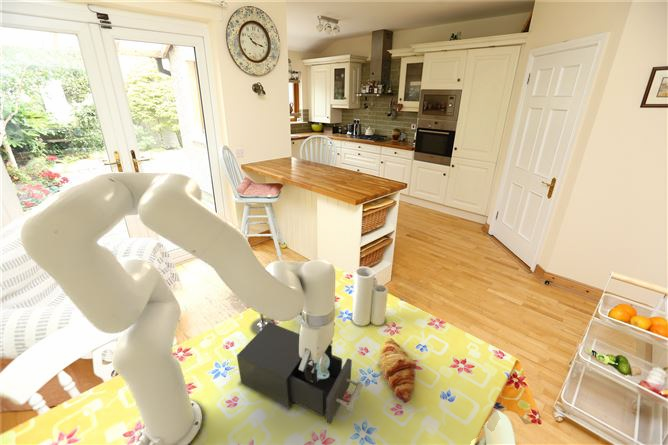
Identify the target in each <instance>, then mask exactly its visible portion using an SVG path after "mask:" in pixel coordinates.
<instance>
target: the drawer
mask: <svg viewBox="0 0 668 445" xmlns="http://www.w3.org/2000/svg"><path fill="white" fill-rule="evenodd" d="M329 360H330V364H329V367H328V369H327V370H328V371H329V377H328V378H326V379H319V380H318V381H317V382H316V383H315V382H311V381H309V380H307V379H306V378H305V372H302V371H300V370H299V366H300V363H301V362H300V363H299V364H298V366H297V367H296V369H295V370H294V372H293V373H292V374H291V376H290V377H289V379H288V381H289V395H290V400H291V401H293V402H292V403H296V404H298V405H299V406H301V407H302V408H305V409H307V410H309V411H311V412H313V413H315V414H317V415H319V416H321V417H324V415H326V416H325V417H326V418H325V422H326V424H329V425H332V423H333V421H334V419H335V417H336V415H337V412H338V410H339V408H340V406H341V405H342V406H345V407H346V408H347V410H349V411H353V410H354V408H355V405H356V402H357V401H358V398H359V396H360V393H361V391H362V389H363V386H364V384H363V382H361V381H355V380H353V379H352V364H353V360H352V358H349V357H348V358H346V360H345V362H344V364H343V358H341V357H339V356H336V355H334V354H332V356H331V358H329ZM301 361H302V360H301ZM309 362H310V360H309ZM309 362H308V364H309ZM325 363H326V362H325ZM325 376H326V375H324V377H325ZM350 385H354V386H355V387H354V389H353V391H352V394H351V396H350V398H349V400H348V402H347V401H344V400H343V399H344V397H345V395H346V394H347V392H348V389H349V387H350Z"/></svg>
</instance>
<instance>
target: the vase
mask: <svg viewBox="0 0 668 445" xmlns="http://www.w3.org/2000/svg"><path fill="white" fill-rule="evenodd" d="M353 279H354V280H353V299H352V301H353V302H352V318H351V319H352V321H353V323H354V324H355V325H357V326H361V327H364V326H367V325H369V324H370V323H371V324H373V325H375V326H381V325H384V324H385V322H386V321H385V320H386V311H387V302H388V294H389V287H387V285H384V284H378V279H379V278H378V277H377V276H375V270H374V269H373V268H371V267H369V266H366V265H365V266H363V265H362V266H359V267H356V268H355V269H354V278H353Z"/></svg>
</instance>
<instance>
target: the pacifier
mask: <svg viewBox="0 0 668 445" xmlns="http://www.w3.org/2000/svg"><path fill="white" fill-rule="evenodd" d="M325 362H326V363H325ZM329 364H330V360H329V357H328V356H327V355H326V354H325V353H324V354H323V355H322V357H321V358H320V360H319V361H318V362H317V365H316V369H317V381H318V380H319V379H326V378H328V377H329V371H328V370H327V369H328V367H329ZM309 365H311V366H312V365H313V361H310V362H309ZM324 375H326V376H325V377H324ZM311 382H313V381H311Z"/></svg>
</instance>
